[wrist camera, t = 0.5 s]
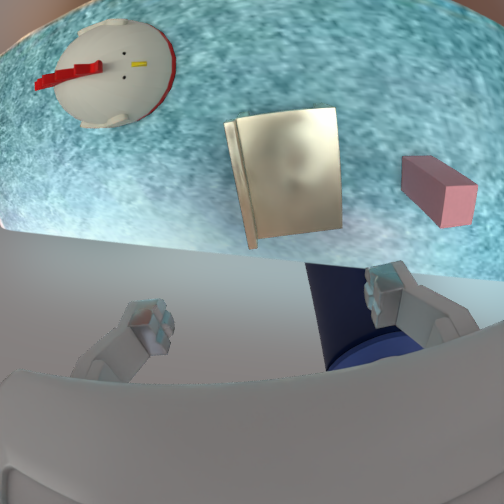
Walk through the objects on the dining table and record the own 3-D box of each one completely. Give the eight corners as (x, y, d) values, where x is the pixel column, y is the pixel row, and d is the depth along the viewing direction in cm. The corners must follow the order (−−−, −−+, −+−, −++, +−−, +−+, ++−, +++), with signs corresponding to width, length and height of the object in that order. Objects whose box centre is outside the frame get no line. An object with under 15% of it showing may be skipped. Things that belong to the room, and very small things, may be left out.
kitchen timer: (176, 119, 31) (124, 146, 19) (83, 130, 31) (9, 165, 19) (177, 14, 23) (124, -22, 11) (79, 36, 23) (1, 33, 11)
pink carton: (429, 188, 35) (471, 224, 26) (400, 190, 35) (440, 228, 26) (431, 155, 32) (478, 185, 23) (402, 156, 33) (446, 186, 24)
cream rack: (331, 207, 37) (346, 237, 31) (250, 217, 39) (248, 249, 32) (322, 102, 30) (341, 108, 23) (230, 114, 31) (223, 122, 24)
